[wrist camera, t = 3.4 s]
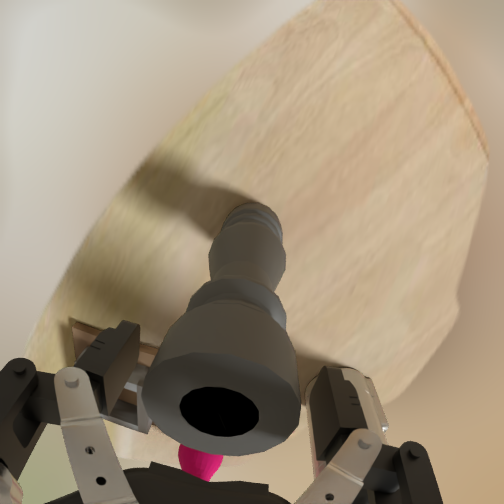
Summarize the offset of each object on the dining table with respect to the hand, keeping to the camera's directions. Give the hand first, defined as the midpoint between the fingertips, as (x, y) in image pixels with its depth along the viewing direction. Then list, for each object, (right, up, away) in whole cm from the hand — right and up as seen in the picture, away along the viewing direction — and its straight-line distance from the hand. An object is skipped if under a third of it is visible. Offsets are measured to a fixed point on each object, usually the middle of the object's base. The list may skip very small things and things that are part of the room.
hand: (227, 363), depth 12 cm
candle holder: (+1, +7, +21) cm, 22 cm away
